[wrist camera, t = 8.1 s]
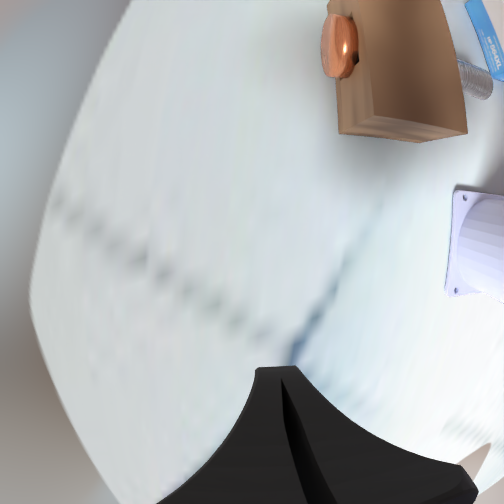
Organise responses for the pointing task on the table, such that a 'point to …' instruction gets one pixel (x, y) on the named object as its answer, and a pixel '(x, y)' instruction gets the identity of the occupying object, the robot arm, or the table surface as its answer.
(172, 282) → the table surface
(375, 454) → the robot arm
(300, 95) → the table surface
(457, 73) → the block
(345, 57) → the pin
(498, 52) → the ink box
